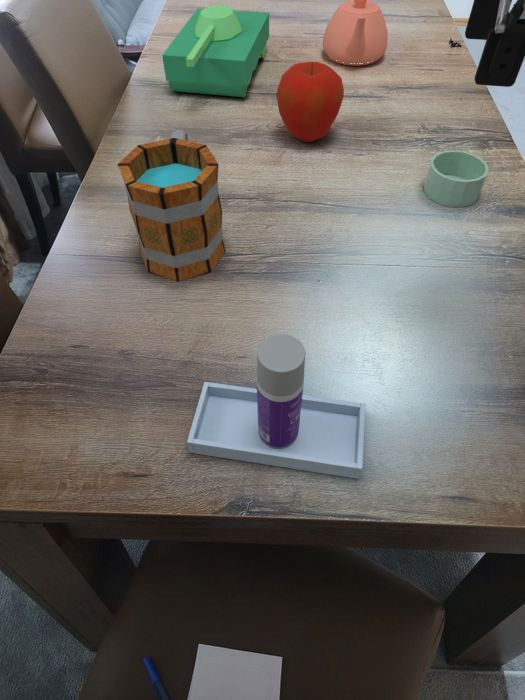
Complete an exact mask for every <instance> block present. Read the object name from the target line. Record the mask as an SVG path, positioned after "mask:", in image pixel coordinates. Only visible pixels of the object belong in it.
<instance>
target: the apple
mask: <svg viewBox="0 0 525 700" xmlns="http://www.w3.org/2000/svg"><path fill="white" fill-rule="evenodd" d="M275 96H276V102H277V109H278V114H279V115H280V117H281V120H282V122H283V125H284V126H285V128H286V130H287V131H288V132H289V133H290V134H291V135H292V136H293V137H294V138H296V139H297V140H299V141H302V142H304V143H311V142H316V141H317V140H320V139H321V138H323V137H325V136H326V135H327V134H328V132H329V131H330V129H331V127H332V125H333V124H334V122H335V120H336V119H337V117H338V115H339V112H340V109H341V106H342V103H343V100H344V96H345V90H344V83H343V79H342V77H341V76H340V75H339V74H338V73H337V72H336V71H335V70H334V69H333V68H332V67H331V66H329V65H328V64H326V63H323V62H319V61H304V62H298V63H295V64H293V65H292V66H290V67H289V68H288V69H287V70H286V71H285V72H284V73H283V74H282V75H281V77H280V80H279V84H278V86H277V90H276V95H275Z"/></svg>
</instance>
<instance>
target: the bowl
mask: <svg viewBox="0 0 525 700" xmlns="http://www.w3.org/2000/svg"><path fill="white" fill-rule="evenodd" d="M489 171H490V170H489V165H488V163H487V162H486V161H485V160H484V159H483V158H481V157H479V156H477V155H476V154H474V153H471V152H468V151H464V150H457V149H456V150H455V149H451V150H445V151H444V150H443V151H440V152H438V153H436V154H434V155H433V156H432V157H431V159H430V161H429V166H428V168H427V171H426V175H425V178H424V182H423V192H424V194H425V196H426V197H428V199H429V200H431V201H433V202H434V203H435V204H438V205H441V206H445V207H448V208H449V207H450V208H464V207H468V206H470V205H472V204H474V203H476V201H477V200H478V198H479V196H480V194H481V192H482V189H483V186H484V184H485V182H486V180H487V177H488V174H489Z"/></svg>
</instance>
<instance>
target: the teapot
mask: <svg viewBox="0 0 525 700" xmlns="http://www.w3.org/2000/svg"><path fill="white" fill-rule="evenodd" d="M388 34H389V33H388V27H387V23H386V20H385V17H384V14H383V11H382V10H381V7H380V6H379V5H378V4H377V3H375V2H374V1H370V0H348V1H344V2H342V3H340V4H339V6H338V7H337V8H336V10H335V11H334V13H333V14H332V16H331V18H330V19H329V21H328V23H327V25H326V27H325V30H324V34H323V37H322V48H323V50H324V52H325V54H326V55H327V57H328V58H329V59H330V60H331V61H333V62H336V63H337V64H341V65H346V66H356V67H357V66H366V65H370V64H373V63H375V62H377V61H378V60H379V59H380V58H381V57H382V56H383V55H384V54H385V53H386V51H387V49H388V42H389V35H388ZM336 60H337V61H336ZM372 61H373V62H372ZM343 62H344V63H343ZM367 62H369V63H367ZM350 63H352V64H350ZM353 63H355V64H353ZM357 63H358V64H357ZM359 63H363V64H359Z"/></svg>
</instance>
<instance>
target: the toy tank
mask: <svg viewBox="0 0 525 700" xmlns="http://www.w3.org/2000/svg"><path fill="white" fill-rule="evenodd" d="M177 33H178V34H177V35H176V36H175V37H174V39H173V40H172V41H171V42H170V43H169V45H168V47H167V48H166V49H165V50H164V52H163V53H162V55H161V57H162V62H163V69H164V76H165V81H167V83H168V86H169V89H170V90H171V91H172V92H180V93H191V94H201V95H203V94H204V95H213V96H224V97H237V98H245V97H246V95H247V91H248V86H249V85H250V83H251V80H252V75H253V73H254V72H255V71H256V70H257V67H258V65H259V64H258V63H259V60H260V59H264V58H265V57H266V53H267V45H268V44H267V43H268V40H269V38H270V12H265V11H264V12H263V11H251V10H250V11H247V10H234V9H233V7H231V6H227V5H223V4H217V5H209V6H207V7H205V8H198V7H197V8H196V9H195V10H194V12H193V13H192V15H191V16H190V17H189V19H188V20H187V21H186V23H185V24H184V26H183V27H182V28H181V29H180V31H179V32H177ZM260 56H261V57H260Z"/></svg>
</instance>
